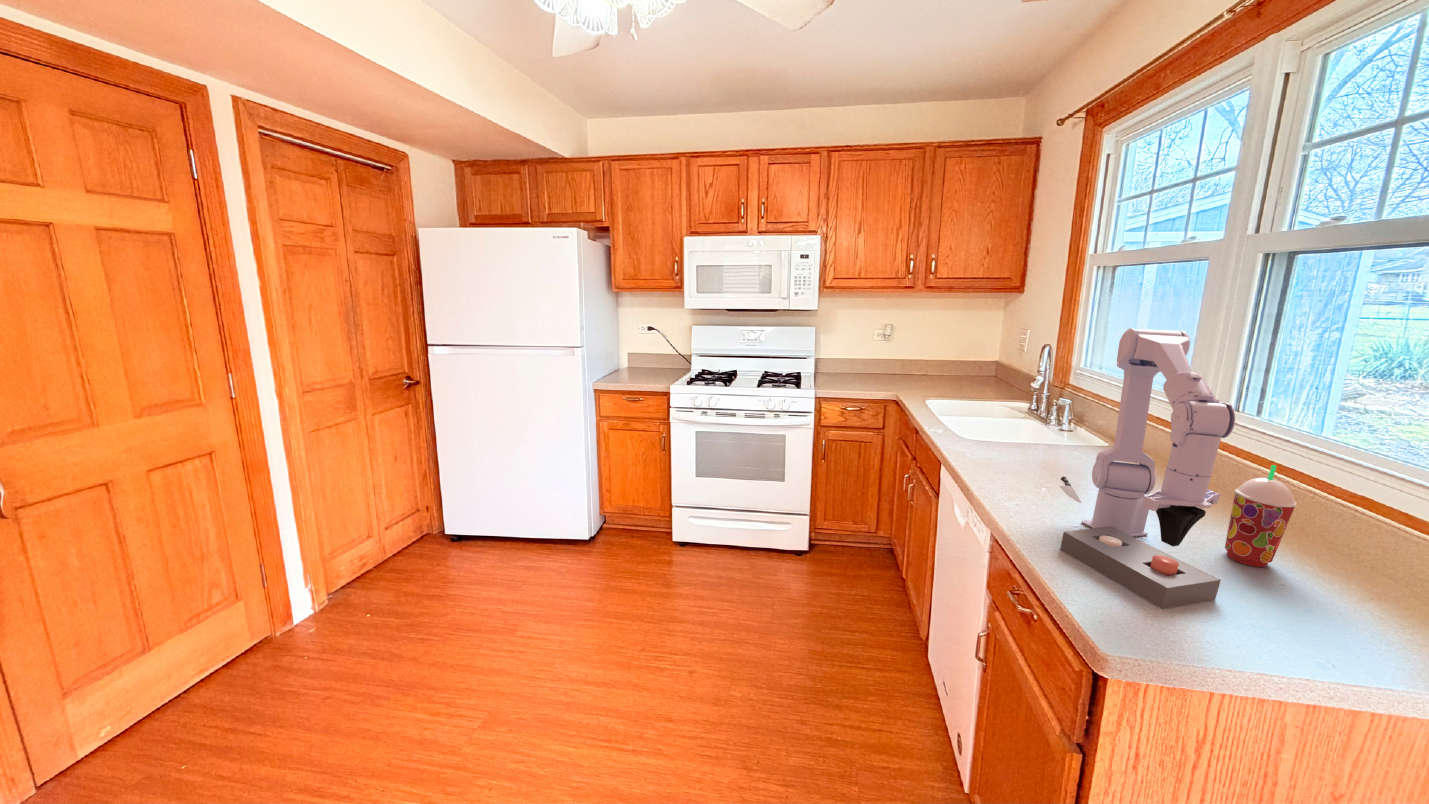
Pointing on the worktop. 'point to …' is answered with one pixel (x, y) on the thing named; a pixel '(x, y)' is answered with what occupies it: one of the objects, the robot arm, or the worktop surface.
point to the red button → (1164, 565)
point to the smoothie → (1258, 520)
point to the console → (1139, 568)
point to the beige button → (1110, 541)
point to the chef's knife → (1069, 490)
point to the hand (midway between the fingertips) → (1169, 543)
